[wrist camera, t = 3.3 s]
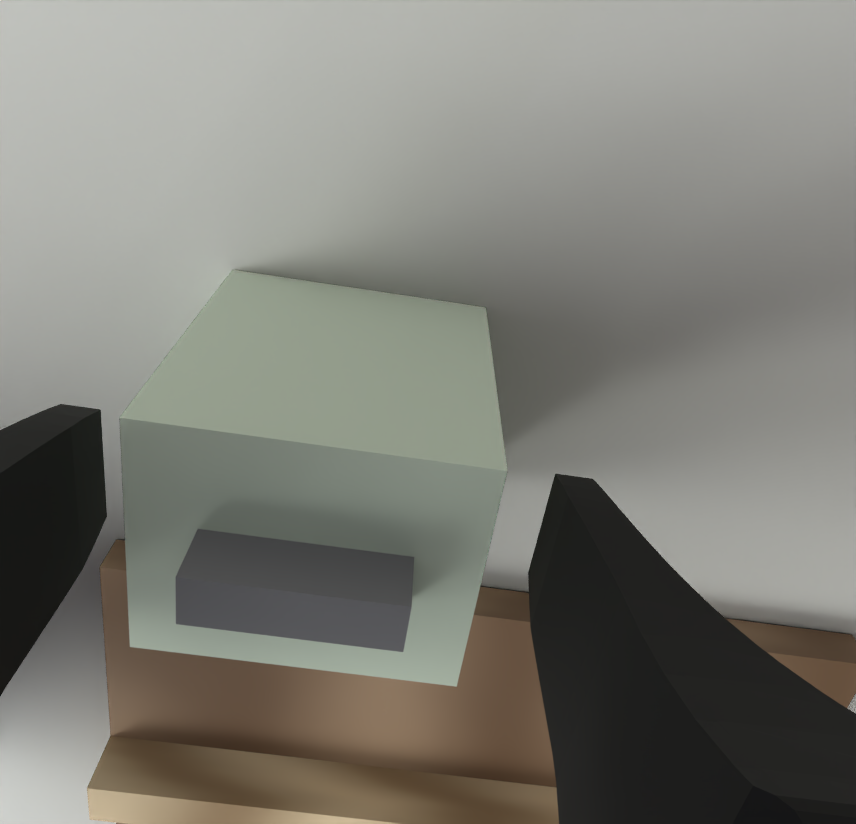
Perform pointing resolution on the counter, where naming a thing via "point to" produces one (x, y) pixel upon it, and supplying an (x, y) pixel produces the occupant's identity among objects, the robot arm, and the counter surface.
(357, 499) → the cabinet block
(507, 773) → the cleat board
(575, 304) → the counter surface
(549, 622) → the robot arm
